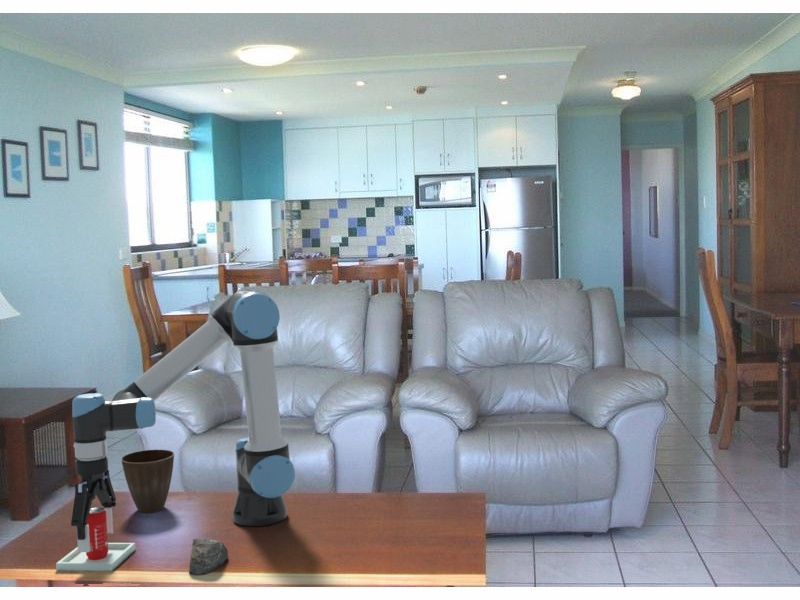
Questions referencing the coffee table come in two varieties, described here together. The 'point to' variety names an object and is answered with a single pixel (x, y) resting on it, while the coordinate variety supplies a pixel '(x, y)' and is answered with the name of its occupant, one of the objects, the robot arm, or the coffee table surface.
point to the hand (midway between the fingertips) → (96, 542)
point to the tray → (82, 563)
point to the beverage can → (97, 534)
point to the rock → (207, 556)
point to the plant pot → (149, 478)
